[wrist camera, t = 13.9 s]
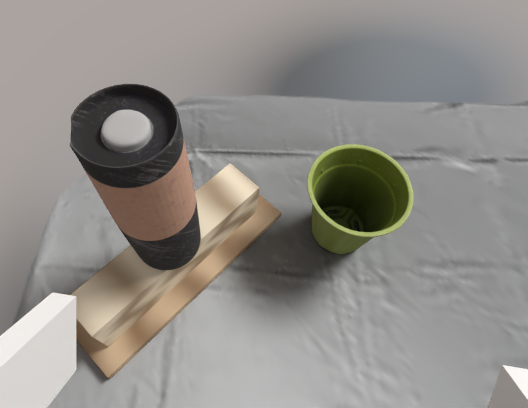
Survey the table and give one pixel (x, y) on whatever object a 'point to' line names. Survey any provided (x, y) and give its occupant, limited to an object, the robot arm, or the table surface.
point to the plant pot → (356, 196)
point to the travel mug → (140, 170)
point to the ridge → (167, 274)
